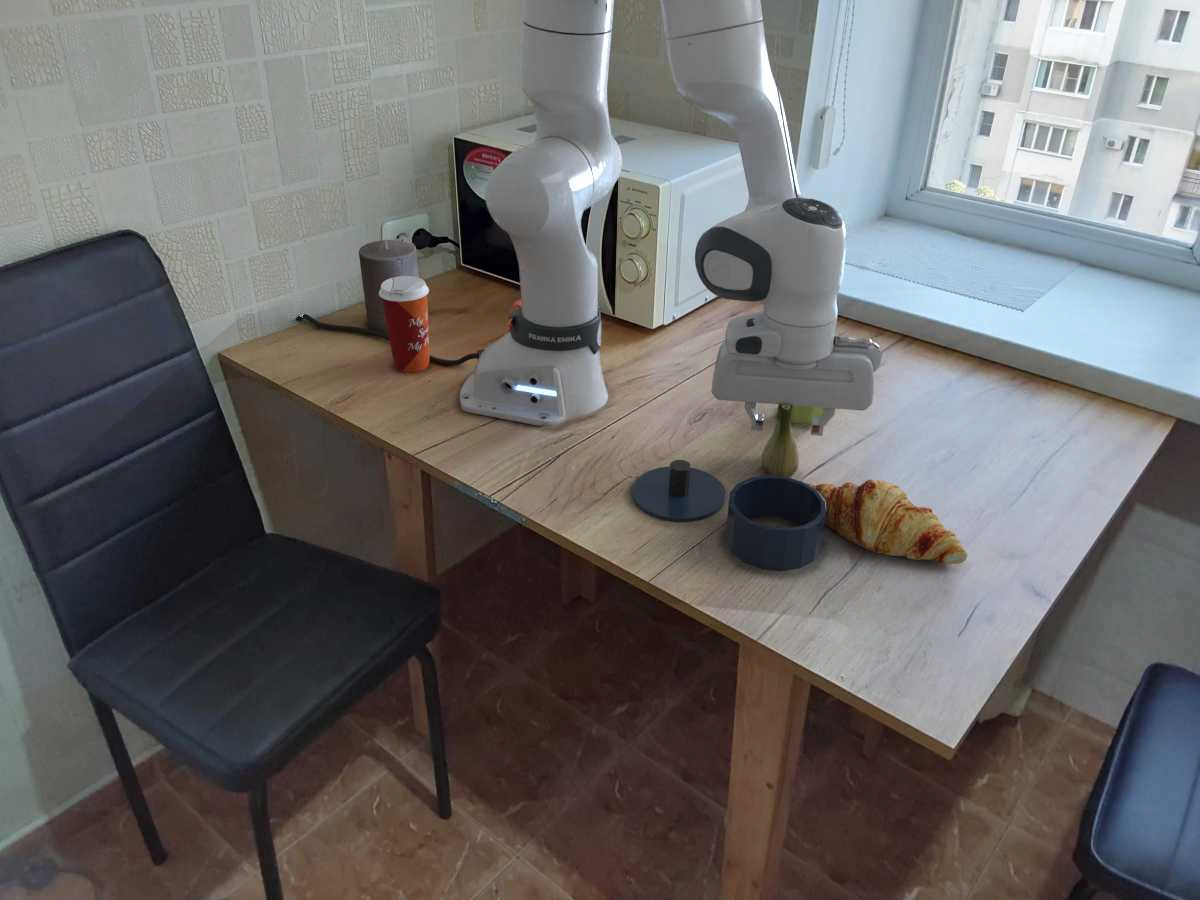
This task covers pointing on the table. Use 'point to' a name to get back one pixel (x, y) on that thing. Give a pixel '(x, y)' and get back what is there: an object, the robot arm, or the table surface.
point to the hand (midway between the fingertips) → (786, 431)
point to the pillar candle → (384, 274)
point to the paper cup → (407, 321)
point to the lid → (678, 493)
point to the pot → (775, 543)
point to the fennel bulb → (781, 446)
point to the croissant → (888, 522)
